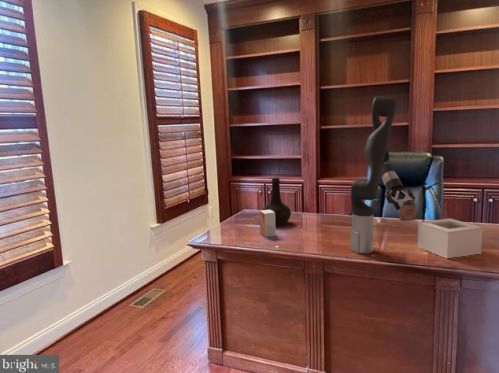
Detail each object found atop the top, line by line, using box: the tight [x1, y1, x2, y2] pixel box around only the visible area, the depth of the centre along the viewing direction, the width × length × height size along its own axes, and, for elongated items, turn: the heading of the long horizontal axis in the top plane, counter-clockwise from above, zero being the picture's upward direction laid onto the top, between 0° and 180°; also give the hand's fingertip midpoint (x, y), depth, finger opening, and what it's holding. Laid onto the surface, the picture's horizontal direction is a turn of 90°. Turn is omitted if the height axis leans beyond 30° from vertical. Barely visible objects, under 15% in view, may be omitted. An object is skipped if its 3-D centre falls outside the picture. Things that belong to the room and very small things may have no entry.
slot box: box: [417, 217, 484, 259], centre depth 171 cm, size 18×18×12 cm
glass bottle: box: [261, 177, 292, 227], centre depth 228 cm, size 18×18×28 cm
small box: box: [259, 209, 277, 238], centre depth 207 cm, size 8×6×13 cm
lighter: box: [399, 198, 417, 222], centre depth 183 cm, size 8×3×10 cm, turn 106°
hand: (406, 208), depth 184 cm, fingers closed on lighter, 8 cm apart
